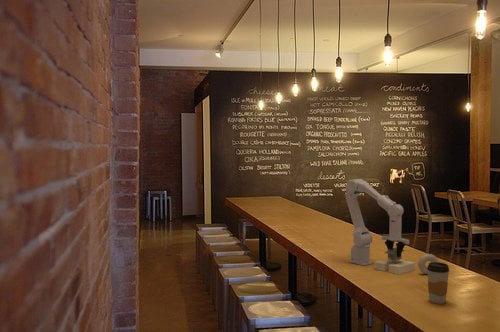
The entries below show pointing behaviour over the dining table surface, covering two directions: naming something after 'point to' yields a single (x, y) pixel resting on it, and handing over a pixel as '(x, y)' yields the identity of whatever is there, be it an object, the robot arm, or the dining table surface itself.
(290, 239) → the dining table surface
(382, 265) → the chassis
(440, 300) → the coffee cup
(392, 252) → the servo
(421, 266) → the donut
